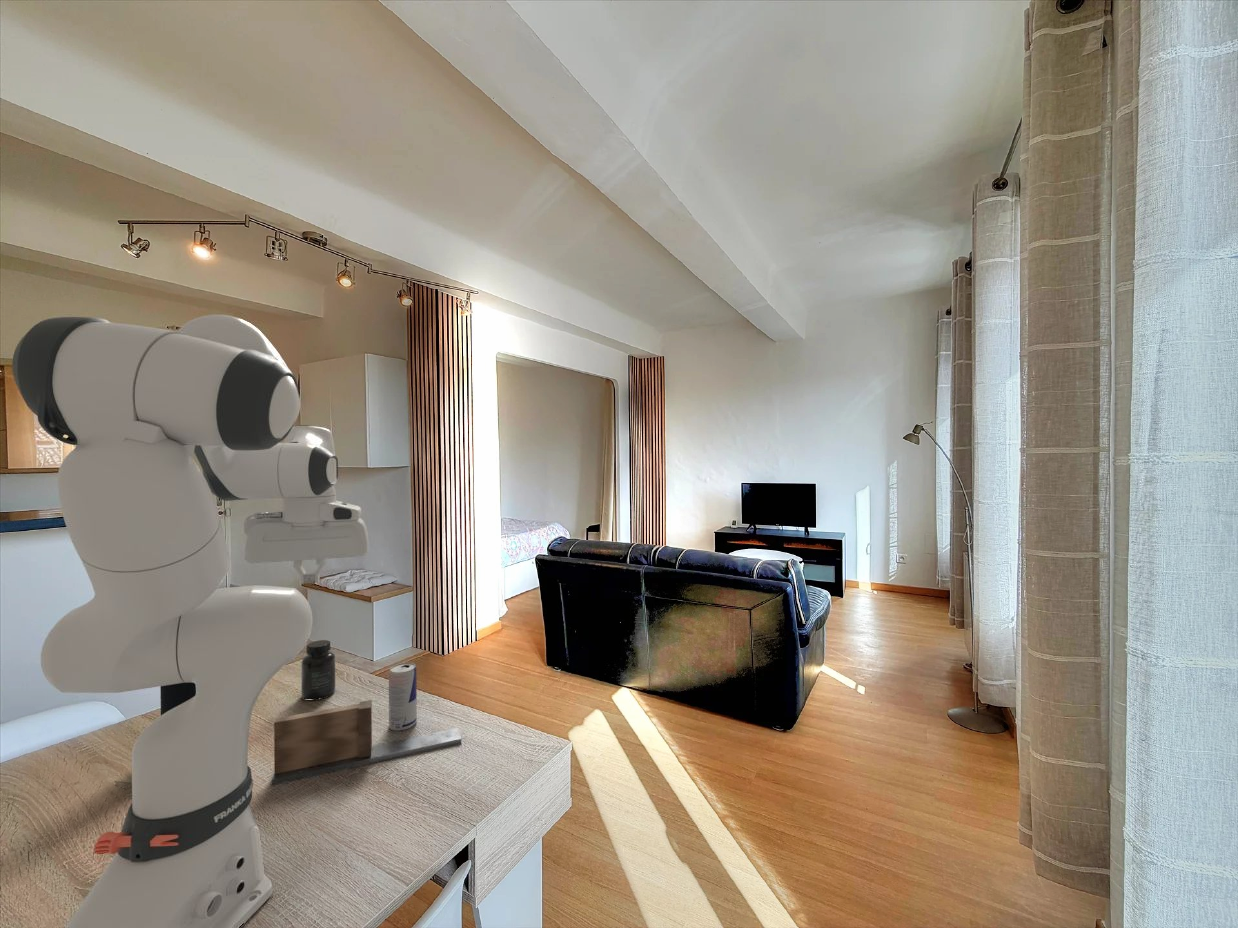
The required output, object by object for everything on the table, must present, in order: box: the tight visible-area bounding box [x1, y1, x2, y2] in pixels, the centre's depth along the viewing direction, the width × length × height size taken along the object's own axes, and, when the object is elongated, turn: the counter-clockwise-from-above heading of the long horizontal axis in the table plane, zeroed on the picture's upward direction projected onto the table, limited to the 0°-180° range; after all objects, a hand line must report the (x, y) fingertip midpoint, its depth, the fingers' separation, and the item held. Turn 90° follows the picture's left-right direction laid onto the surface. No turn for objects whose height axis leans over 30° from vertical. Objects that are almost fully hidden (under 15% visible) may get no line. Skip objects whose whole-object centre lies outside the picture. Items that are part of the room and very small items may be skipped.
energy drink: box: [388, 662, 418, 732], centre depth 104 cm, size 5×5×12 cm
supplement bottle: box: [300, 639, 336, 700], centre depth 117 cm, size 7×7×12 cm
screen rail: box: [271, 727, 462, 786], centre depth 93 cm, size 31×4×1 cm, turn 114°
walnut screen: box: [273, 699, 373, 775], centre depth 90 cm, size 15×3×9 cm, turn 114°
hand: (310, 582), depth 96 cm, fingers closed
